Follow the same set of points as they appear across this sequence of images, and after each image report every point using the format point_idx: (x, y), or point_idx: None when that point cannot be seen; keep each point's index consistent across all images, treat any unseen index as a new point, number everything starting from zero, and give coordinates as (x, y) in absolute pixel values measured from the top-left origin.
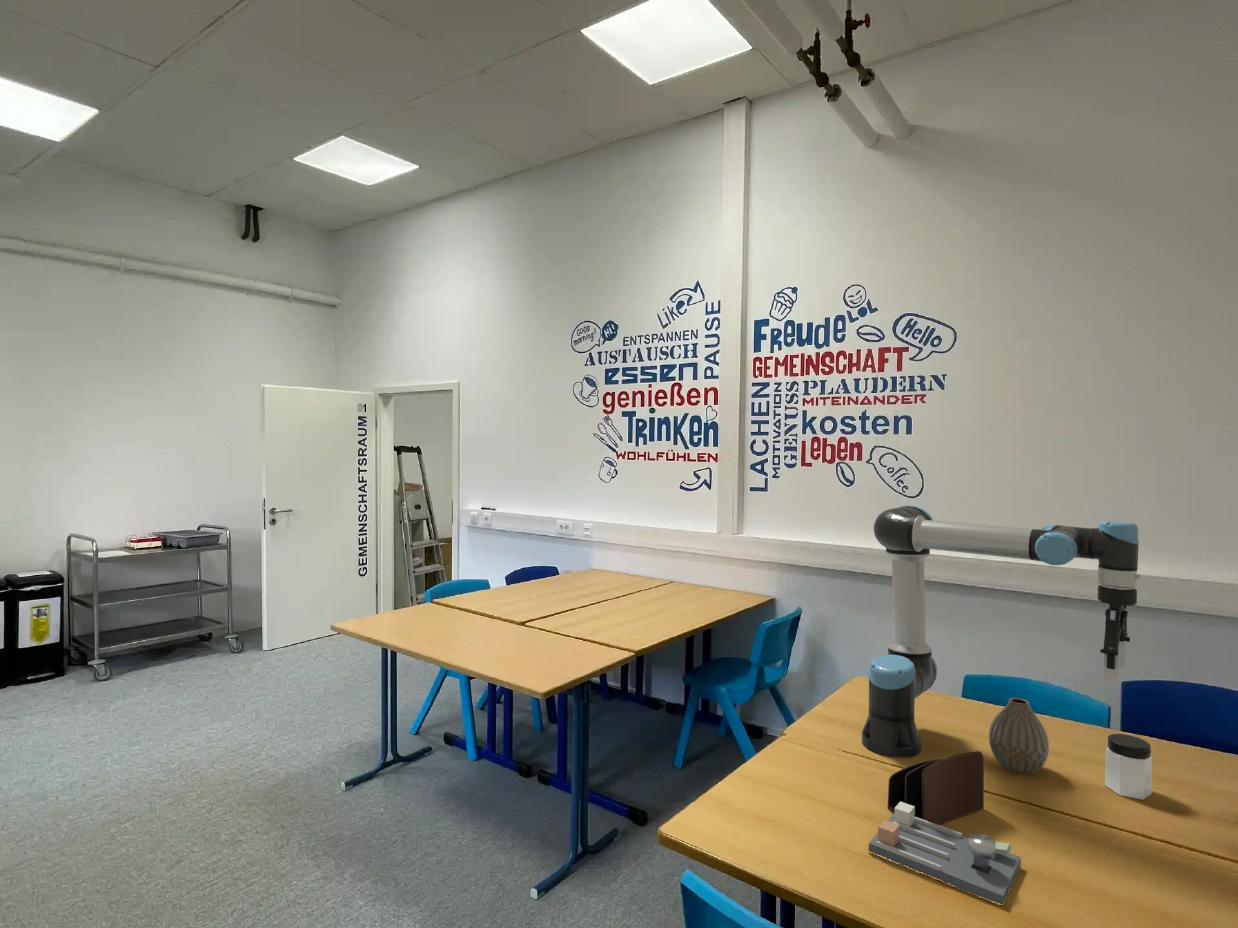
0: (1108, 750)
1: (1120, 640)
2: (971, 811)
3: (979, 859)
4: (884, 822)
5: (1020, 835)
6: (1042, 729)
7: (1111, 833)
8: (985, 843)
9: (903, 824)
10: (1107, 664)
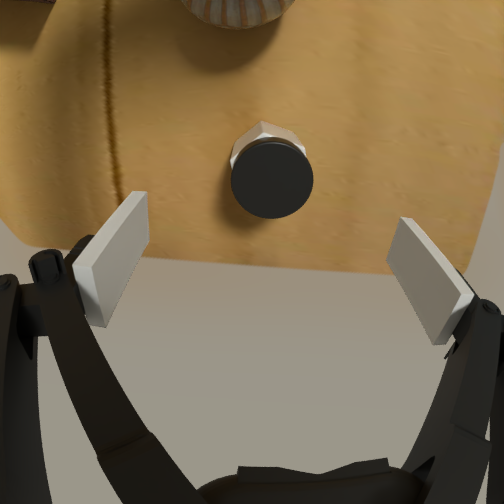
0: (257, 137)
1: (458, 327)
2: (33, 1)
3: None
4: None
5: (19, 63)
6: (223, 8)
7: (92, 143)
8: None
9: None
10: (75, 247)
